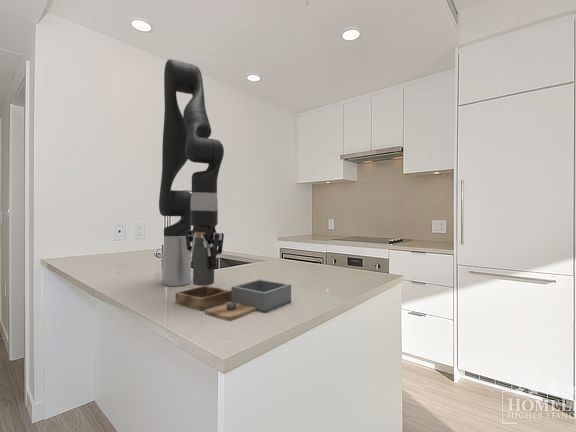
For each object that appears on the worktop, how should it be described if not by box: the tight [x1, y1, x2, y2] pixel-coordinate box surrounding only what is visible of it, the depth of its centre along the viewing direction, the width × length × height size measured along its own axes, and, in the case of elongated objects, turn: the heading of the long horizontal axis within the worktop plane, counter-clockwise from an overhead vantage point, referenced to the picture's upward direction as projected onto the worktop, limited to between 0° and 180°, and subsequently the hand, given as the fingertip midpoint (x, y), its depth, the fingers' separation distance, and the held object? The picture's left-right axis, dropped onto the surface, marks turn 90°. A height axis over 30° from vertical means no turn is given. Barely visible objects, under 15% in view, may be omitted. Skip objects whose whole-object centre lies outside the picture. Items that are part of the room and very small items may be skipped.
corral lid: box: [204, 301, 257, 322], centre depth 82 cm, size 9×10×2 cm
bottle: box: [192, 231, 215, 287], centre depth 91 cm, size 6×6×15 cm
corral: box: [174, 285, 231, 312], centre depth 91 cm, size 11×11×3 cm
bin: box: [230, 279, 292, 314], centre depth 90 cm, size 12×12×5 cm
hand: (203, 267), depth 91 cm, fingers closed on bottle, 6 cm apart
